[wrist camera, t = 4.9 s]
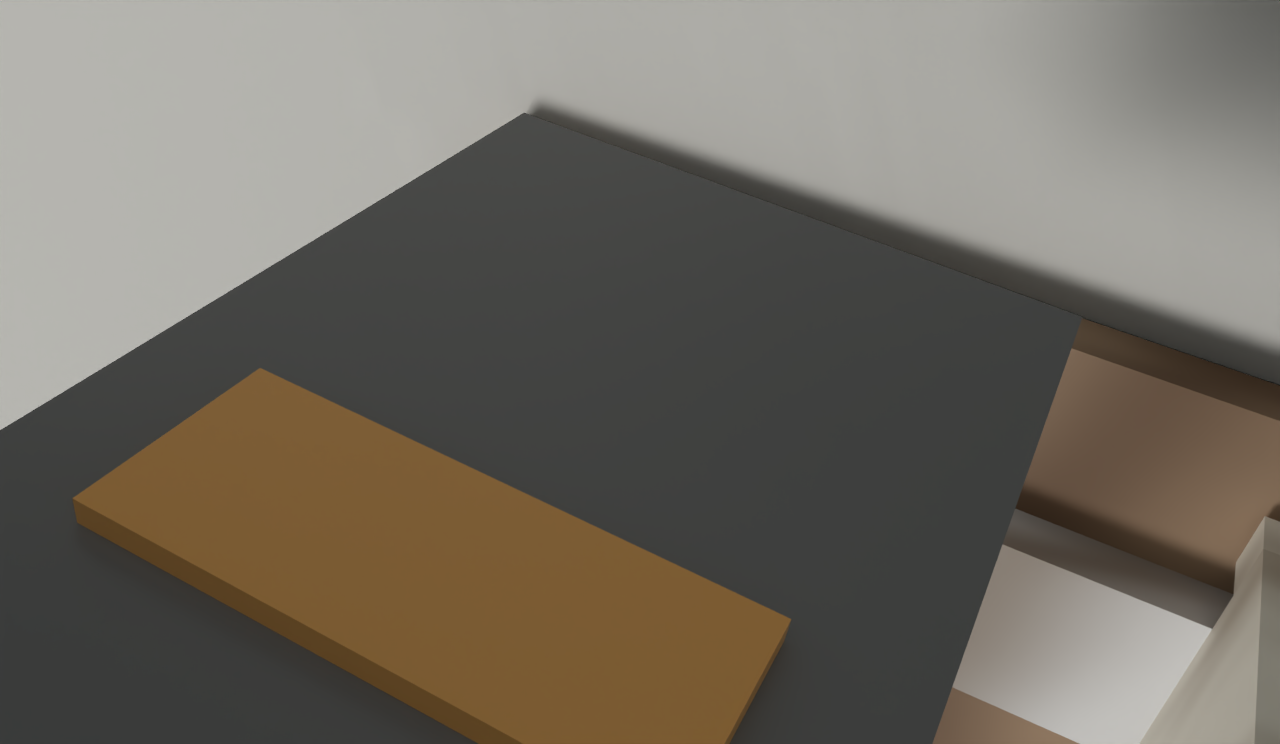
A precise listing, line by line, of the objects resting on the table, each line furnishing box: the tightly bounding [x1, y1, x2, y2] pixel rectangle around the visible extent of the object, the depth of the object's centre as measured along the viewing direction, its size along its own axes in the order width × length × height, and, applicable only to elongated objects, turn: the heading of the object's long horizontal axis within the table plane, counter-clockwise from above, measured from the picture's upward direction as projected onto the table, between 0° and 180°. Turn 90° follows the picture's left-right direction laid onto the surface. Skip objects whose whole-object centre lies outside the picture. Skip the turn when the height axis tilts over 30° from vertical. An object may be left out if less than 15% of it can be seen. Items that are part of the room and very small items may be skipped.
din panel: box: [932, 318, 1280, 744], centre depth 18 cm, size 22×10×8 cm, turn 83°
